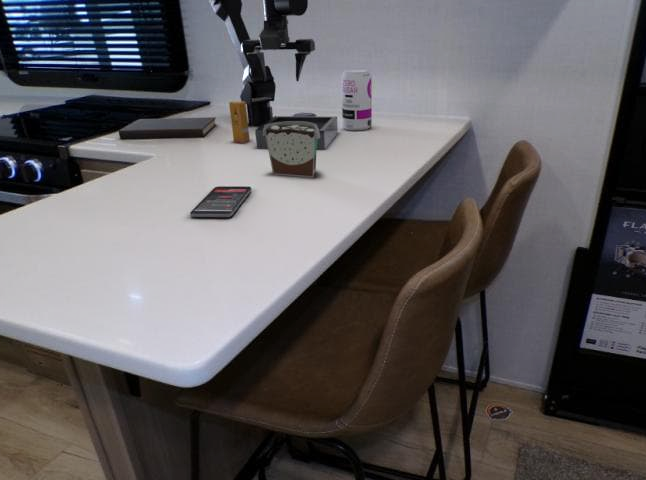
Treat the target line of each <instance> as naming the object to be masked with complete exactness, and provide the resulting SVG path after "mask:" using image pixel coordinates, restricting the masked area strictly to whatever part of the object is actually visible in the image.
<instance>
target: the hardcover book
mask: <svg viewBox="0 0 646 480" xmlns="http://www.w3.org/2000/svg"><path fill="white" fill-rule="evenodd" d="M216 119H217V117H213V116H209V117H174V118H173V117H169V118H139V119H137V120H134V121H132V122H131V123H129V124H128V125H126V126H124V127H122V128H121V129H119V130H118V136H119V138H120V140H134V139H136V140H137V139H171V138H172V139H174V138H179V139H181V138H205V136H207V135H208V134H209V133H210V132H211V131H212V130H213V129H214V128H216V126H218V125H217V123H216Z"/></svg>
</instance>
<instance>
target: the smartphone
mask: <svg viewBox="0 0 646 480" xmlns="http://www.w3.org/2000/svg"><path fill="white" fill-rule="evenodd" d="M251 191H252V187H251V186H231V185H230V186H221V185H219V186H215V187H214V188H212V189H211V190H210V191H209V192H208V194H206V195H205V197H204V198H202V200H201V201H199V203H198V204H197V205H196V206H195V207H194V208H193V209H192V210H191V211H190V212H189V216H190V217H192V218H214V219H215V218H217V219H218V218H222V219H223V218H224V219H225V218H231V217H232V216H233V215H234V214H235V212H236V211H237V210H238V208H239V207H241V204H242V203H243V202H244V201H245V199H246V198H247V197H248V196H249V194H250V193H251Z"/></svg>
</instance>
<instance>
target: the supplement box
mask: <svg viewBox="0 0 646 480" xmlns="http://www.w3.org/2000/svg"><path fill="white" fill-rule="evenodd" d="M228 105H229V114H230V119H231V120H230V121H231V130H232V139H233V140H232V141H233V143H239V144H240V143H241V144H245V143H248V142H250V140H251V139H250V131H249V130H250V129H249V126H248V123H249V121H248V113H247V104H246V103H245V101H241V100H232V101H229V103H228Z"/></svg>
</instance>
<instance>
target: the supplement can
mask: <svg viewBox="0 0 646 480" xmlns="http://www.w3.org/2000/svg"><path fill="white" fill-rule="evenodd" d="M340 79H341V81H340V83H341V84H340V85H341V111H342V113H341V114H342V115H341V116H342V127H343V128H344V129H345V130H347V131H354V132H355V131H356V132H357V131H358V132H359V131H366V130H369V129H370V127H372V124H373V122H372V121H373V120H372V119H373V117H372V116H373V115H372V109H373V108H372V99H373V98H372V95H373V94H372V90H373V89H372V84H373V83H372V81H373V80H372V75H371V71H370V70H369V69H364V68H362V69H359V68H358V69H355V68H354V69H345V70H343V72H342V75H341V77H340Z"/></svg>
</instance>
